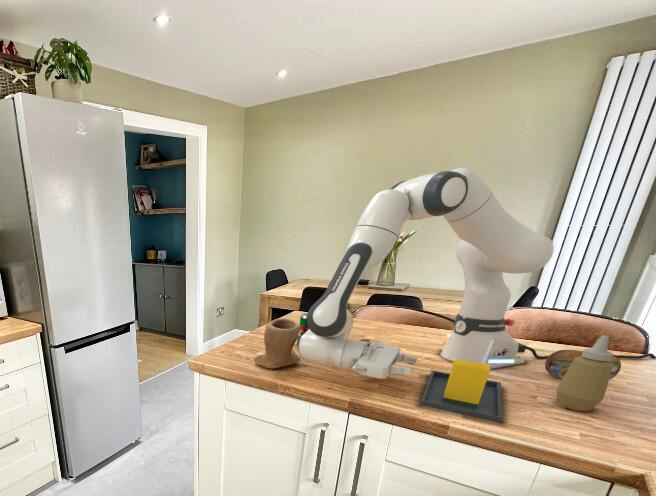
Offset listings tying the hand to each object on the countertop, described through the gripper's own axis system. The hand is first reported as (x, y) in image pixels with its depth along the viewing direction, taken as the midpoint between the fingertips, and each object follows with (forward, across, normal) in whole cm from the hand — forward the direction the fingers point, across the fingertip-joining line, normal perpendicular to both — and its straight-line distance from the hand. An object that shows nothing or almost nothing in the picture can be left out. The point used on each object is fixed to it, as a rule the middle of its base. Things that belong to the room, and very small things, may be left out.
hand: (414, 366), depth 105 cm
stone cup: (-36, +1, +8) cm, 37 cm away
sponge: (+11, 0, +7) cm, 13 cm away
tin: (+36, +37, +8) cm, 53 cm away
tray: (+11, +4, +8) cm, 14 cm away
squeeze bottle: (+33, +13, +8) cm, 37 cm away
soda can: (-36, +25, +8) cm, 44 cm away
